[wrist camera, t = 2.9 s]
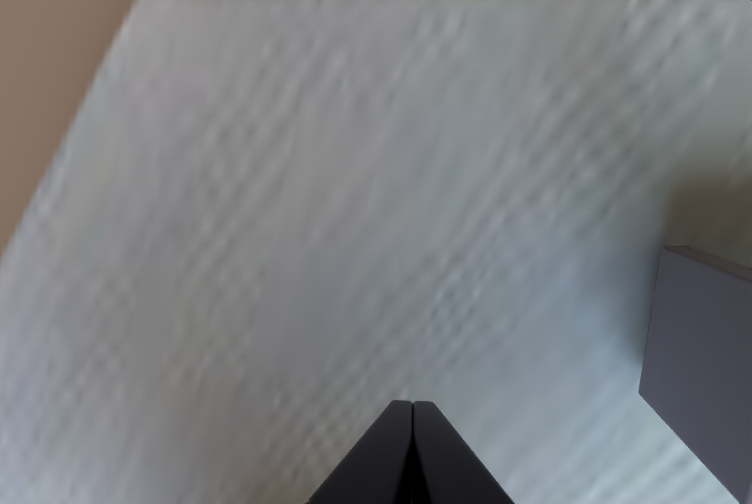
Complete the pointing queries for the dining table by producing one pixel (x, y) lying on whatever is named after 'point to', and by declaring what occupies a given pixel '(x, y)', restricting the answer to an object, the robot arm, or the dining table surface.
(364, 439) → the robot arm
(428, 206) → the dining table surface
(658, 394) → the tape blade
